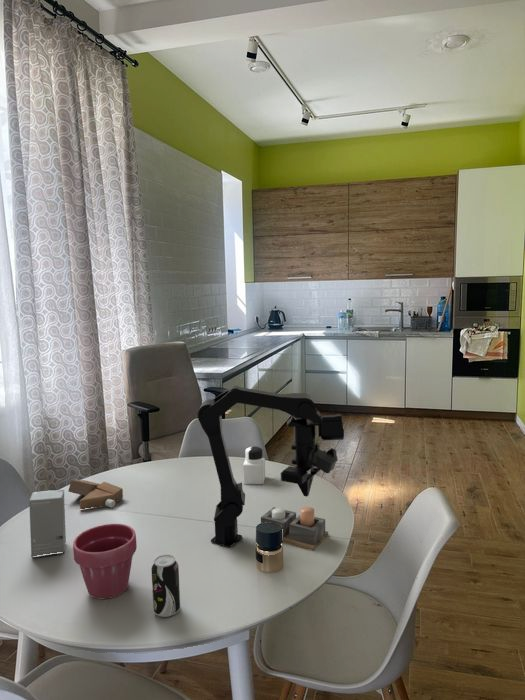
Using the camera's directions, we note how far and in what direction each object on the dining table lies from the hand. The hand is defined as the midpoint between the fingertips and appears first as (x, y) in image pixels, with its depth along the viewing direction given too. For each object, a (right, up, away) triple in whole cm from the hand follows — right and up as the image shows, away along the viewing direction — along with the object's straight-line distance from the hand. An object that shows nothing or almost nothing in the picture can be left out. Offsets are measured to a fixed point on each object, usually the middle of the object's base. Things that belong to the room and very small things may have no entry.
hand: (306, 495), depth 143 cm
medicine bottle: (-15, -7, +43) cm, 46 cm away
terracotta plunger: (0, -9, +1) cm, 9 cm away
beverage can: (-33, -17, -29) cm, 47 cm away
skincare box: (-69, -14, -2) cm, 71 cm away
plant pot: (-48, -16, -20) cm, 55 cm away
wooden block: (-67, -10, +28) cm, 73 cm away
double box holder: (-3, -12, +4) cm, 13 cm away
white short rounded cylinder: (-7, -11, +6) cm, 14 cm away
